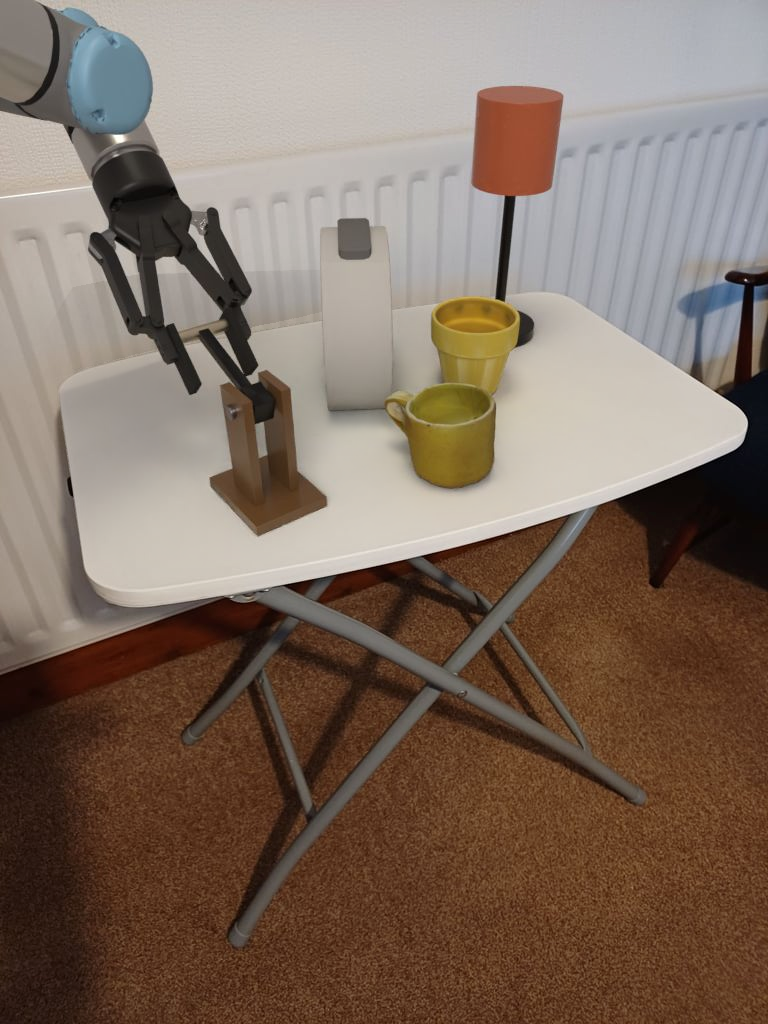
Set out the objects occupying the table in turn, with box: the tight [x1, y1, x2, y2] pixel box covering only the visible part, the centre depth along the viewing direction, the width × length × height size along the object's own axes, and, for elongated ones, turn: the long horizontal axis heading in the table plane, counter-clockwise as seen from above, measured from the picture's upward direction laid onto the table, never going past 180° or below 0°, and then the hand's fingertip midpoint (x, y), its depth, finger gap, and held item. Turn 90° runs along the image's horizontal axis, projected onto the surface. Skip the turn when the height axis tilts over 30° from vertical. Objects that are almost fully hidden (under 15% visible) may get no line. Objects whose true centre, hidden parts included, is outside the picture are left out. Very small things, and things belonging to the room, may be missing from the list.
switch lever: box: [178, 319, 275, 426], centre depth 76 cm, size 13×6×2 cm, turn 36°
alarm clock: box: [319, 217, 394, 411], centre depth 93 cm, size 21×8×20 cm, turn 3°
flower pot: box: [430, 296, 520, 395], centre depth 95 cm, size 10×10×10 cm
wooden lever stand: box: [208, 369, 328, 537], centre depth 76 cm, size 10×8×13 cm
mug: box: [384, 382, 497, 489], centre depth 83 cm, size 12×10×10 cm
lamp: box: [470, 85, 564, 348], centre depth 101 cm, size 10×10×30 cm
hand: (224, 379), depth 78 cm, fingers closed on switch lever, 5 cm apart
